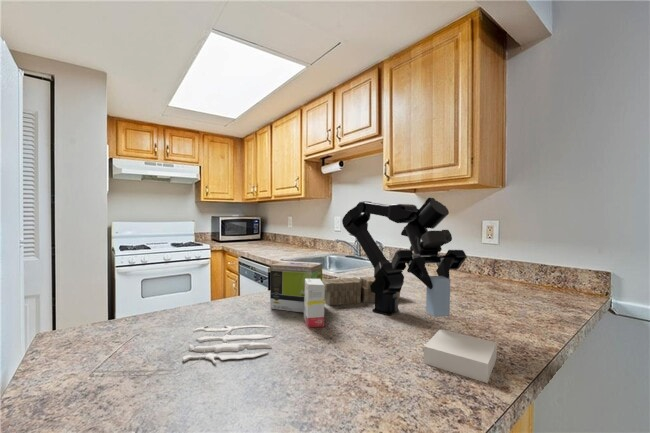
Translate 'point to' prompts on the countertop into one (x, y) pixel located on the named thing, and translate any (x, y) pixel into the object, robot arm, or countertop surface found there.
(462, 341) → the base block
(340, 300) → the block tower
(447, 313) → the blue pillar
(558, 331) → the countertop surface
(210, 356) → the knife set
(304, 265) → the tea box
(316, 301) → the ink box
